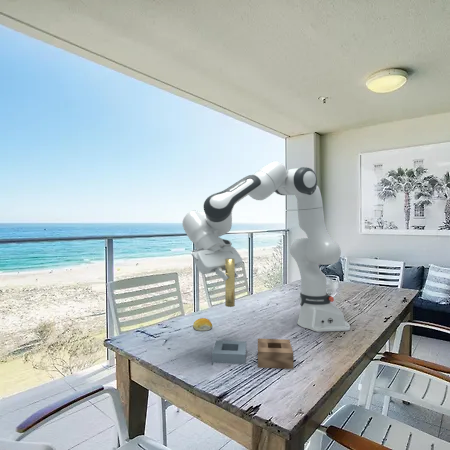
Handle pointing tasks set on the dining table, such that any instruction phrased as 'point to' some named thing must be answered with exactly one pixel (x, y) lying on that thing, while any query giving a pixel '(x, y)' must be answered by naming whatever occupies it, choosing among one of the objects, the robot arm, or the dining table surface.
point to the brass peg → (230, 282)
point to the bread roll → (202, 324)
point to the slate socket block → (229, 352)
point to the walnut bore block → (275, 353)
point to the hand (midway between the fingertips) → (231, 278)
